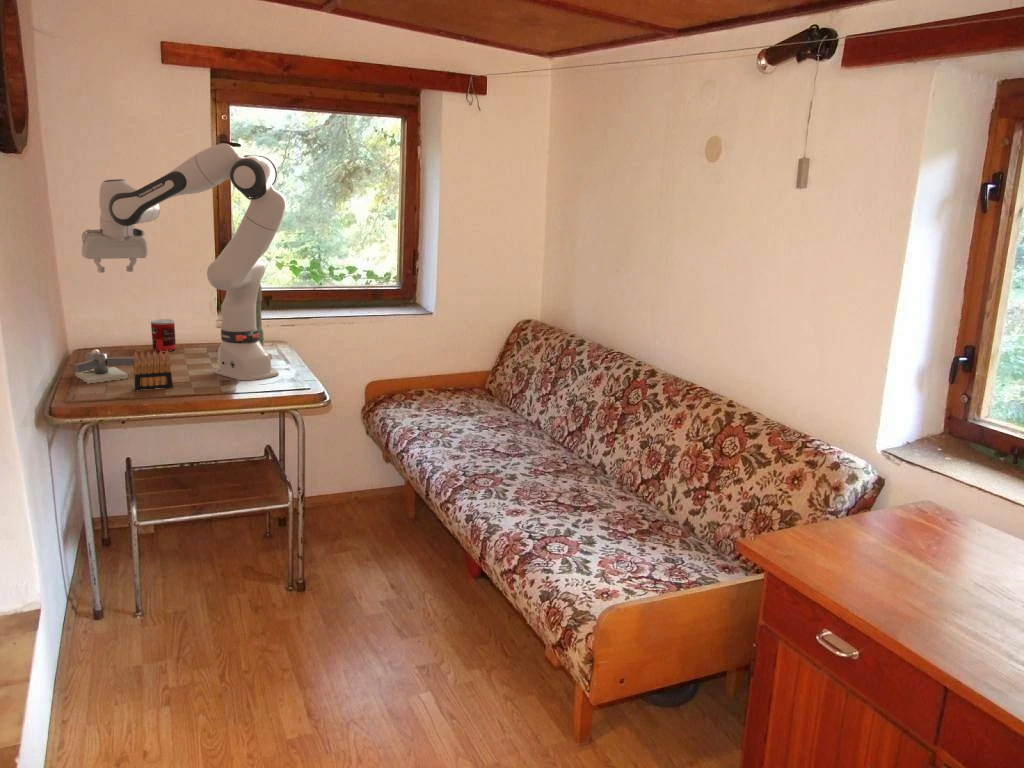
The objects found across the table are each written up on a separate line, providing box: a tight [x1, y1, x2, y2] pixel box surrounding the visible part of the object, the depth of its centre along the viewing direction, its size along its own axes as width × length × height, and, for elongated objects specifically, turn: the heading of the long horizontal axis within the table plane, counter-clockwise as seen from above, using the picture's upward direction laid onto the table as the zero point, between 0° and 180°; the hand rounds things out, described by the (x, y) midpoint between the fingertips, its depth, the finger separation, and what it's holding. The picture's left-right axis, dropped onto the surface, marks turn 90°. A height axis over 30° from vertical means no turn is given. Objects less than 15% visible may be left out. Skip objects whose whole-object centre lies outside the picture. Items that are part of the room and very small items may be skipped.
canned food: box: [150, 318, 177, 352], centre depth 300 cm, size 8×8×11 cm
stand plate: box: [74, 366, 129, 384], centre depth 260 cm, size 12×12×2 cm
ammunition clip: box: [133, 350, 174, 391], centre depth 249 cm, size 11×2×12 cm, turn 118°
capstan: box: [73, 348, 134, 374], centre depth 261 cm, size 16×18×7 cm
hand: (115, 271), depth 268 cm, fingers open, 8 cm apart
